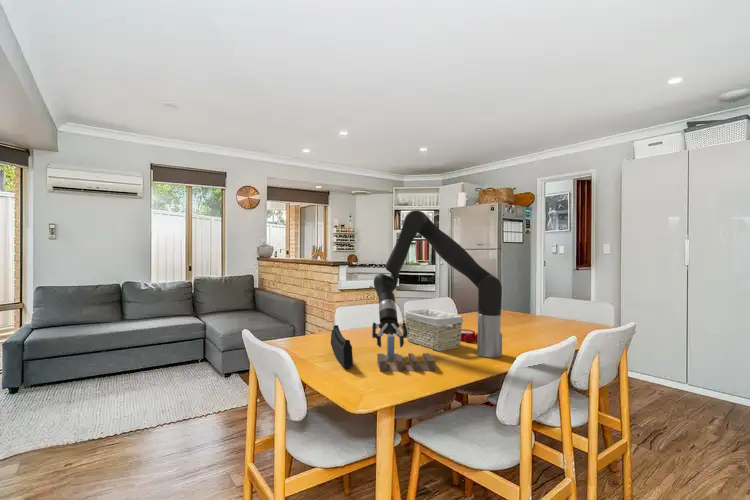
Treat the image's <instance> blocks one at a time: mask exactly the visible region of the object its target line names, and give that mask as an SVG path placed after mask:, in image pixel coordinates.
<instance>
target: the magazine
mask: <svg viewBox="0 0 750 500" xmlns="http://www.w3.org/2000/svg"><path fill="white" fill-rule="evenodd" d="M330 346H331V349H332V351H333V354H334V356H335V359H336V360H337V362H338V363H339V364H340V365H341V366H343V368H347V369H348V368H349V369H351V368H354V367H353V366H354V363H353V361H354V360H353V346H352V344H351V341H350V340H349V339H346V338H345V337H344V336H343V335H342V333H341V330H340V328H339V325H337V324H335V325H333V329H332V330H331V334H330Z"/></svg>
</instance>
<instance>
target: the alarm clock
mask: <svg viewBox="0 0 750 500" xmlns="http://www.w3.org/2000/svg"><path fill="white" fill-rule="evenodd" d="M461 332H462V333H461V339H460V342H465V343H472V342H477V338H478V332H476V331H475V330H471V329H465V328H464V329H463V328H462V330H461Z"/></svg>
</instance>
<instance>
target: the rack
mask: <svg viewBox="0 0 750 500" xmlns="http://www.w3.org/2000/svg"><path fill="white" fill-rule="evenodd" d="M385 355H386V354H385V353H377V354H376V357H377V358H376V360H377V361H376V363H377V366H378V367H377V368H378V370H379V372H380V373H381V372H383V373H384V372H387V373H388V372H436V359H434V357H433V356H432V355H431V354H430V353H422V362H419V361H418V359H417V357H416V356H415V355H414V353H408V359H407V360H408V362H403V361H402V359H401V358H400V356H399V355H400V354H399V353H394V361H393V362H388V361H387V360H386V358H385Z"/></svg>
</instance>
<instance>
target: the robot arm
mask: <svg viewBox="0 0 750 500" xmlns="http://www.w3.org/2000/svg"><path fill="white" fill-rule="evenodd" d="M402 224H403V225H402V227H401V230H400V232H399V235H398V237H397V238H398V239H397V241H396V243H395V244H394V247H393V249H392V251H391V253H390V255H389V256H388V257H389V258H388V259H387V262H386V264H385V265H384V266H385V267H384V268H385V270H386V271H388V272H389V273H391V274H390V275H386V274H385V273H378V274H376V275H375V276H374V279H373V287H374V290H375V292H376V295H377V297H378V316H379V323H376V322H375V321H374V322H372V332H371V337H372V338H373V339H376V345H377V346H378V348H381V347H382V337H383V336H384V335H387V334H393V335H394V336H396V337H397V338H398V339H399V347H400V348H403V346H404V345H405V344H404V343H405V339H407V334H408V333H407V328H406V322H402V323H399V321H398V312H397V305H396V299H395V294H394V291H395V290H396V289H397V286H398V281H399V277H400V272H401V271H402V268H403V265H404V264H405V262H406V259H407V257H408V253H409V250H410V248H411V245H412V242H413V241H414V239H415V237H416V235H417V234H419V235H420V236H421V237H423V238H424V239H425V240H426V241H427V243H429V244H430V246H431V247H432V249H434V251H435V252H436V253H437V255H438V256H439V257H440V258H441V259H442V260H443V261H445V263H447V264H448V265H449V266H450V267H451V268H452V269H454V270H456V271H457V272H459V273H460V274H462V275H464V276H465V277H466V278H467V279H468V280H469V281H470V282H472V284H474V286H475V287H476V288H477V289H478V291H477V295H478V296H477V297H478V299H477V300H478V301H477V333H478V338H477V341H476V344H477V345H476V352H477V353H476V354H477V355H478V356H479V357H484V358H490V359H491V358H492V359H493V358H499V357H502V356H503V333H502V332H501V330H502V329H501V322H502V321H501V319H502V317H501V316H502V314H501V313H502V300H503V299H502V296H503V295H502V294H503V293H502V292H503V291H502V290H503V287H502V283H501V281H500V279H498V278H497V277H496V276H494V275H493V274H492V273H490V272H489V271H487V270H486V269H485V268H483V267H482V266H481V265H480V264H478V263H477V261H476V260H475V259H474V258H473V256H472V255H471V254H469V252H468V251H466V250H465V249H464V248H463V247H462V246H461V245H460V244H459V243H458V242H457V241H455V240H454V239H453V238H451V237H450V236H449V235H448V234H447V233H445V232H443V231H442V230H441V229H439V227H438V226H436V224H434V223H433V221H432V220H431V219H430V218H429V217H428V215H426V214H425V213H424V212H423V211H422V210H421V211H420V210H417V209H416V210H411V211H409V212H408V213H406V215H405V216H404V220H403V223H402ZM378 328H379V329H380V330H379V332H378V333H377V330H378ZM401 330H402V332H401Z"/></svg>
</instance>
